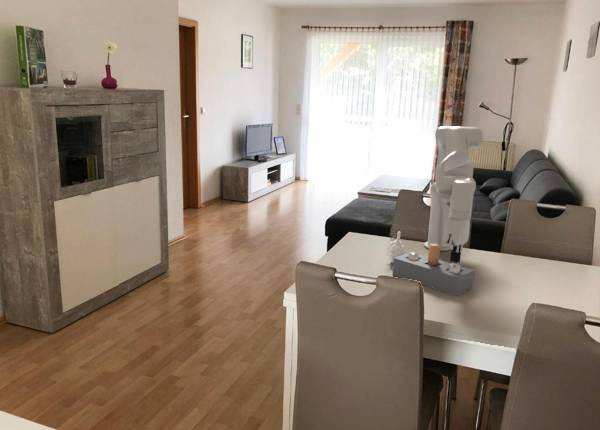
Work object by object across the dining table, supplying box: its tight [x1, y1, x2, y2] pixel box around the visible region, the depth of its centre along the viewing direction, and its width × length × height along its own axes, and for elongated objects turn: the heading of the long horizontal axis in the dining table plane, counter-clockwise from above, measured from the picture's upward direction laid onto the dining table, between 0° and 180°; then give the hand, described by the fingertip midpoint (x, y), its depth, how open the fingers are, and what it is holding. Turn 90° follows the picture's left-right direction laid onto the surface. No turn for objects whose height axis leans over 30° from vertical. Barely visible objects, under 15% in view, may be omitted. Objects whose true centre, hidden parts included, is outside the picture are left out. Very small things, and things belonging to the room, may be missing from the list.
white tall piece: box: [386, 230, 406, 264], centre depth 214 cm, size 8×6×14 cm
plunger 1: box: [407, 251, 420, 261], centre depth 201 cm, size 4×4×8 cm
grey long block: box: [392, 252, 476, 297], centre depth 195 cm, size 12×28×7 cm, turn 44°
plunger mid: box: [427, 244, 441, 267], centre depth 193 cm, size 4×4×8 cm
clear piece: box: [449, 262, 461, 273], centre depth 188 cm, size 4×4×8 cm
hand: (454, 261), depth 187 cm, fingers closed
